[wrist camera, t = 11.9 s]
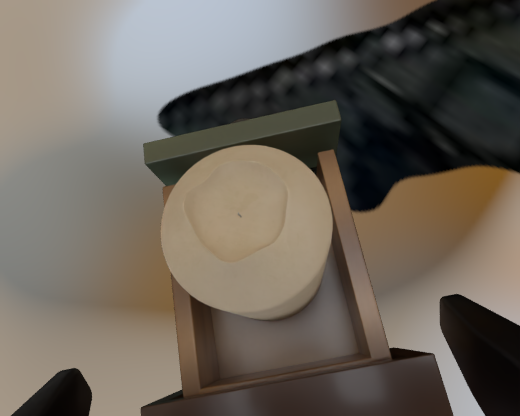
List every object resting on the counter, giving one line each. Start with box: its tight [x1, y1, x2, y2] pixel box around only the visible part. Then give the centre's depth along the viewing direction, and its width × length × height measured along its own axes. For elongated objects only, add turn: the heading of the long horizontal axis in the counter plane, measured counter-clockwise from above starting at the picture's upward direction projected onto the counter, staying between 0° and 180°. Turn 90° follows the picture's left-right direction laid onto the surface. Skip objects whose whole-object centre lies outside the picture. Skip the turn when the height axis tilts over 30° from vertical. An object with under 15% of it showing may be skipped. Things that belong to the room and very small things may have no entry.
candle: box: [161, 145, 333, 321], centre depth 15 cm, size 6×6×10 cm
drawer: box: [143, 100, 392, 397], centre depth 19 cm, size 14×10×5 cm
